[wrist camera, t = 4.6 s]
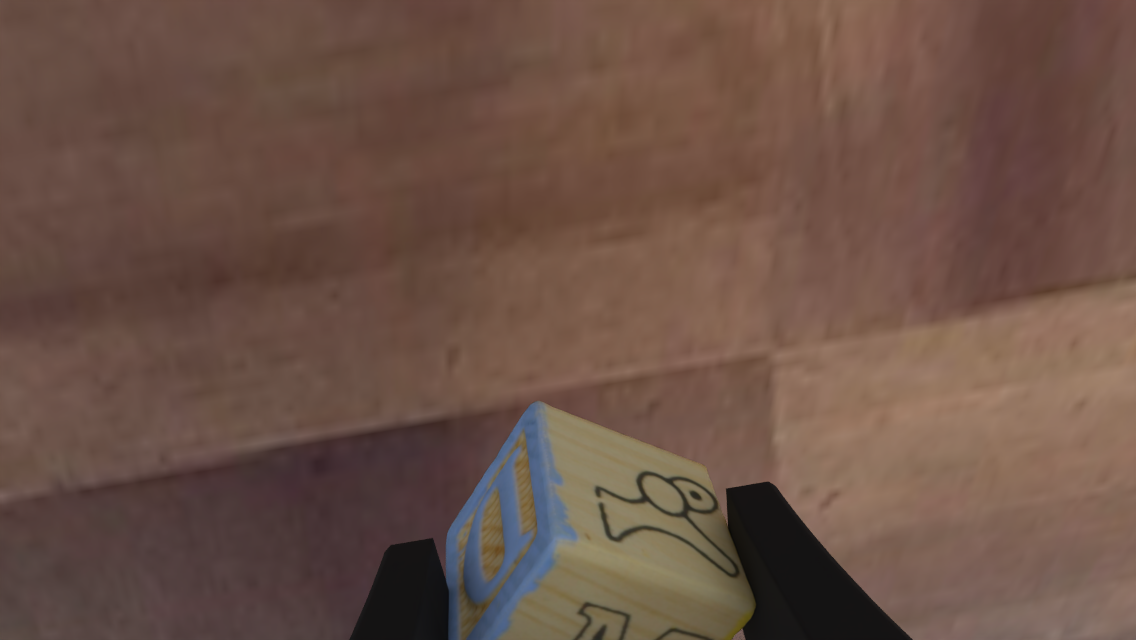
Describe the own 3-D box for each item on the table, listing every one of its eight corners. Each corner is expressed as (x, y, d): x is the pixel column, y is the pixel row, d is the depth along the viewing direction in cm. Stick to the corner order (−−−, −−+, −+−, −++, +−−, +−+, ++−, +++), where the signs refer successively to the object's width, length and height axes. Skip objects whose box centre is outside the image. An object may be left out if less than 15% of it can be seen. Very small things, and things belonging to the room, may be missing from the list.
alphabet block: (537, 387, 13) (554, 544, 10) (711, 458, 14) (766, 616, 11) (443, 527, 14) (438, 697, 12) (609, 582, 15) (638, 750, 13)
